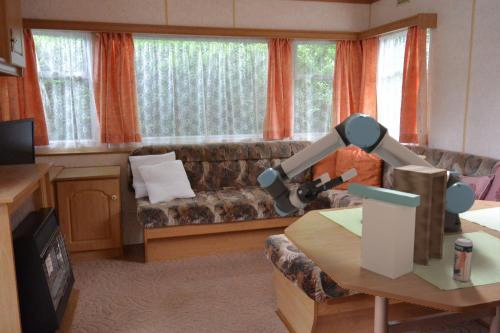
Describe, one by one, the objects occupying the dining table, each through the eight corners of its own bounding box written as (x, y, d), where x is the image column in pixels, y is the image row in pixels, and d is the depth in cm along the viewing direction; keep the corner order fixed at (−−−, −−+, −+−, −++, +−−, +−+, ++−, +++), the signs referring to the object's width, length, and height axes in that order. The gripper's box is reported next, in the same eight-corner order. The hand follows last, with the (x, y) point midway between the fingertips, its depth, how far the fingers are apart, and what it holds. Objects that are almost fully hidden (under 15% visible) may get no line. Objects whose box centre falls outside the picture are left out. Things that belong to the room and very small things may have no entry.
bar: (347, 193, 144) (347, 184, 144) (354, 191, 147) (354, 182, 146) (412, 207, 126) (413, 197, 125) (419, 205, 128) (420, 195, 127)
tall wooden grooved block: (390, 254, 149) (393, 168, 144) (407, 248, 155) (411, 164, 150) (425, 266, 139) (430, 173, 134) (442, 259, 145) (447, 169, 140)
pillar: (360, 266, 139) (362, 199, 136) (380, 259, 145) (382, 194, 141) (393, 279, 130) (396, 207, 126) (412, 270, 136) (416, 201, 132)
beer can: (449, 276, 131) (451, 237, 129) (464, 275, 132) (467, 237, 130) (458, 282, 127) (460, 243, 125) (473, 282, 127) (476, 242, 125)
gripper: (330, 199, 170) (370, 179, 154) (282, 209, 156) (320, 189, 139) (323, 181, 172) (361, 159, 156) (275, 190, 157) (312, 167, 141)
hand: (342, 173), depth 148 cm, fingers open, 13 cm apart
